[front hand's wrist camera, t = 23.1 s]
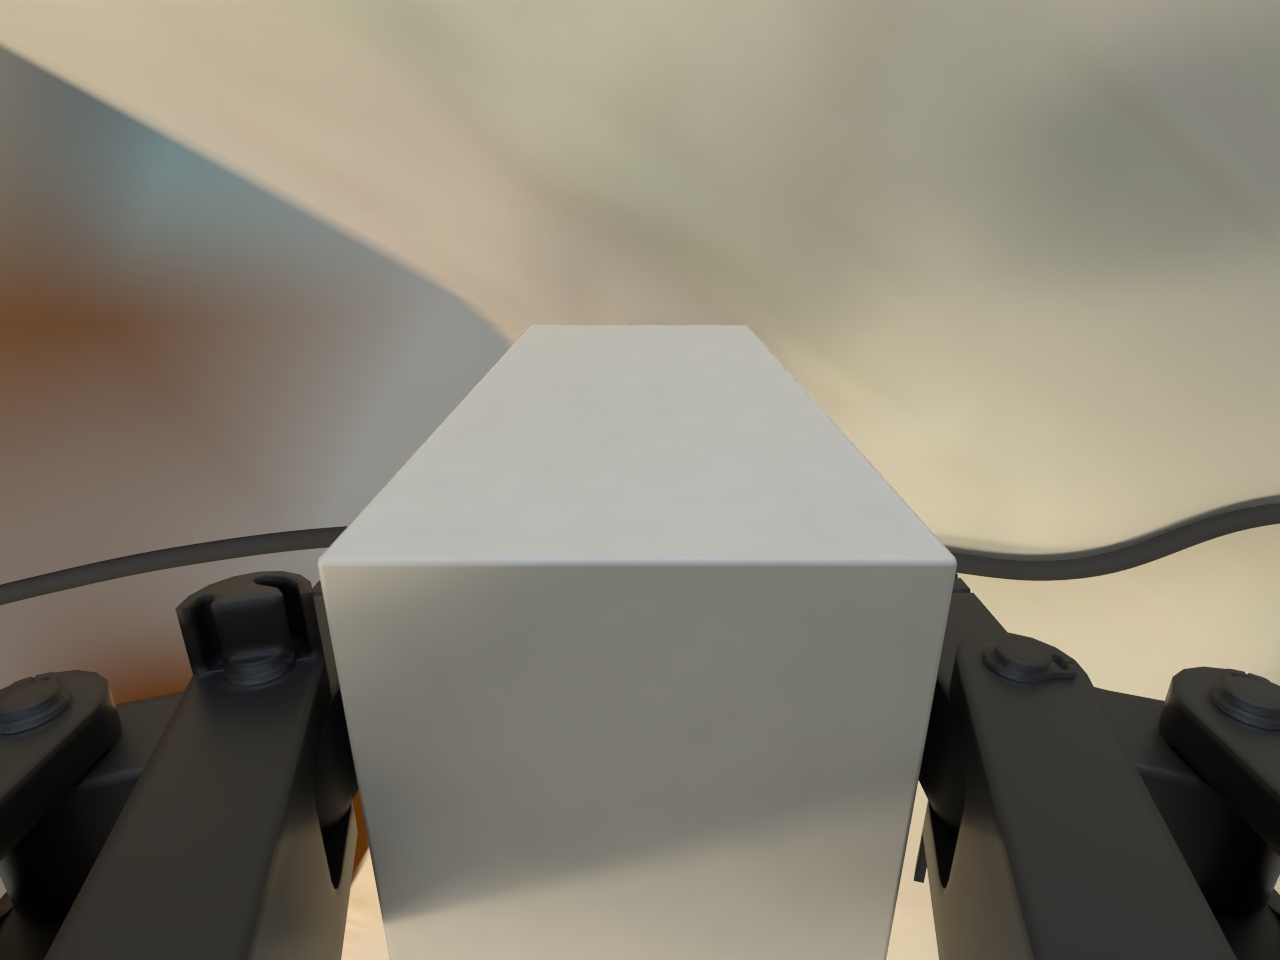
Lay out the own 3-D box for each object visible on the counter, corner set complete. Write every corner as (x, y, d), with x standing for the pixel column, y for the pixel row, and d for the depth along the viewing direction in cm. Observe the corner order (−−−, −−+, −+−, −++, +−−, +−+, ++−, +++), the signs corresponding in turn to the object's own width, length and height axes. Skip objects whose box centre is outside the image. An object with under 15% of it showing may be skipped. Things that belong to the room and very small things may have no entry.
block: (735, 550, 19) (873, 1043, 8) (541, 550, 19) (402, 1043, 8) (748, 324, 16) (961, 559, 6) (529, 324, 16) (312, 559, 6)
